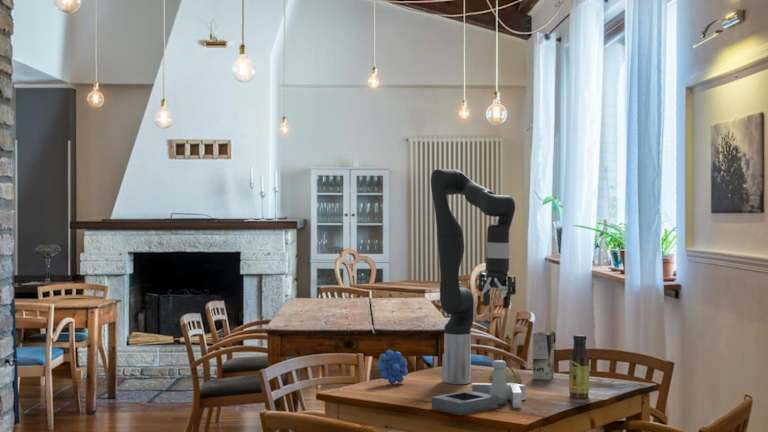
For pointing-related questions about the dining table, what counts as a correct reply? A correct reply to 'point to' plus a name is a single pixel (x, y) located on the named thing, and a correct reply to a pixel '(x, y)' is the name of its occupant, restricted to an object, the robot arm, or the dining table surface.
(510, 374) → the bread roll
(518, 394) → the v block
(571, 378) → the sauce bottle
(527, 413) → the dining table surface
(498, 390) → the salt shaker
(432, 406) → the grey rectangular frame
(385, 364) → the grapes
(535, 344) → the coffee box
